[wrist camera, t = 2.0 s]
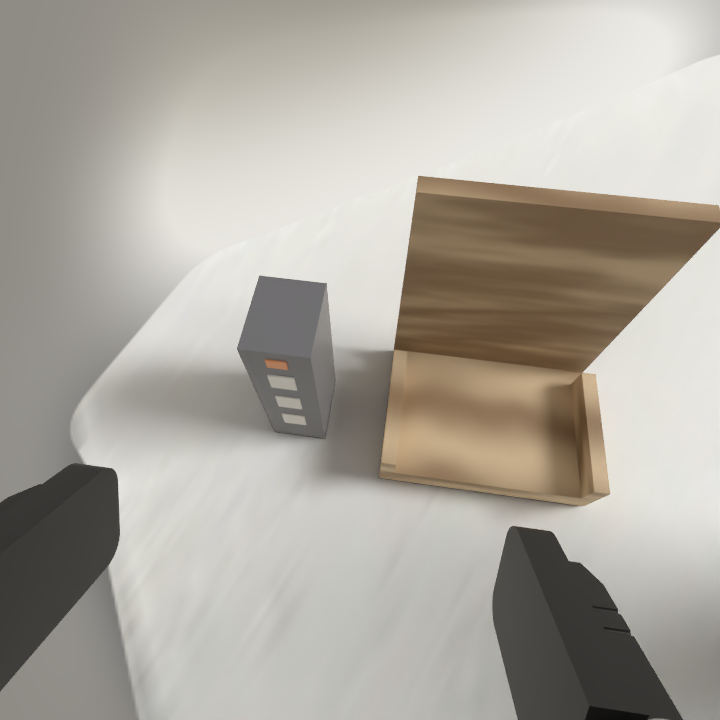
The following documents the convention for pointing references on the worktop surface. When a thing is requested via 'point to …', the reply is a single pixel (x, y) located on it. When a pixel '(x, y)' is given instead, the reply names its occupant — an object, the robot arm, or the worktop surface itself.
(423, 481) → the wooden angled stand
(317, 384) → the power strip
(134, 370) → the worktop surface
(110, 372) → the worktop surface
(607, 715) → the robot arm
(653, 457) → the worktop surface
